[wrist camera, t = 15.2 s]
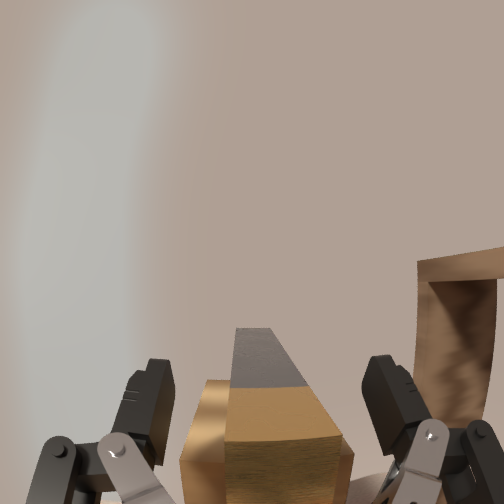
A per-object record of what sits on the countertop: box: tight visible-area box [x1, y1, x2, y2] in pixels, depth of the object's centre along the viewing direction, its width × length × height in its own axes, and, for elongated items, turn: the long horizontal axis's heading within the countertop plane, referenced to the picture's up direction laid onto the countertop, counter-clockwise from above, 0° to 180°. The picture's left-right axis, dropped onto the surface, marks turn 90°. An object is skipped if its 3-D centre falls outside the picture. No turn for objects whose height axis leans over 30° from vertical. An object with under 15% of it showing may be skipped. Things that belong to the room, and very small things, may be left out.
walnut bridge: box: [413, 247, 504, 504], centre depth 17 cm, size 10×16×31 cm, turn 2°
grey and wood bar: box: [224, 328, 343, 504], centre depth 20 cm, size 24×4×4 cm, turn 2°
